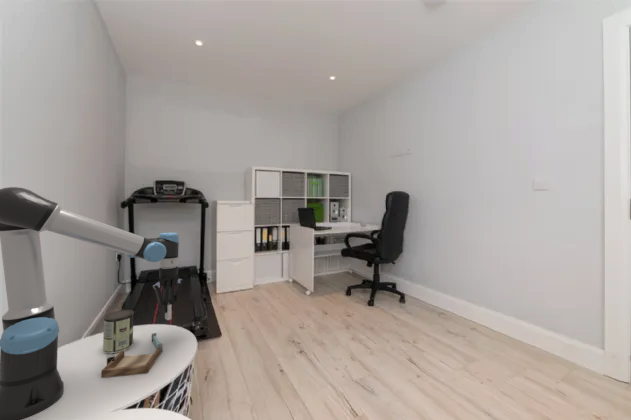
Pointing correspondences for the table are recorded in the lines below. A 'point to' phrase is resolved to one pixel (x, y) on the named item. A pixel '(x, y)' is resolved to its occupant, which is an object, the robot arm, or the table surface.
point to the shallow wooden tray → (130, 364)
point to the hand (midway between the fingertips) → (168, 318)
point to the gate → (157, 342)
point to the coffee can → (118, 331)
